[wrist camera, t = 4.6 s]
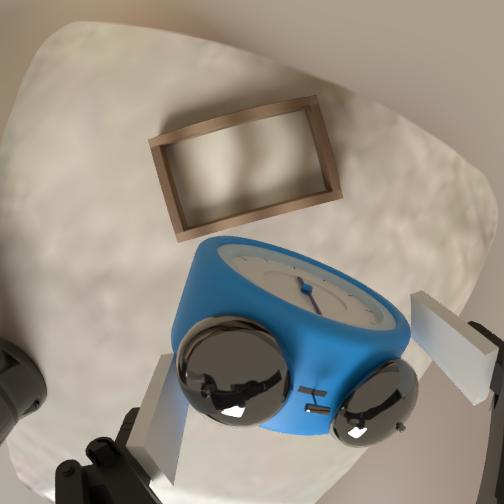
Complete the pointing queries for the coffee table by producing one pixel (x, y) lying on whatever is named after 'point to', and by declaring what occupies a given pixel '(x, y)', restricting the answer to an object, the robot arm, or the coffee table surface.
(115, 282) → the coffee table surface
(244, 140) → the open rectangular wooden box
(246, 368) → the alarm clock
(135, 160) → the coffee table surface
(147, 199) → the coffee table surface
